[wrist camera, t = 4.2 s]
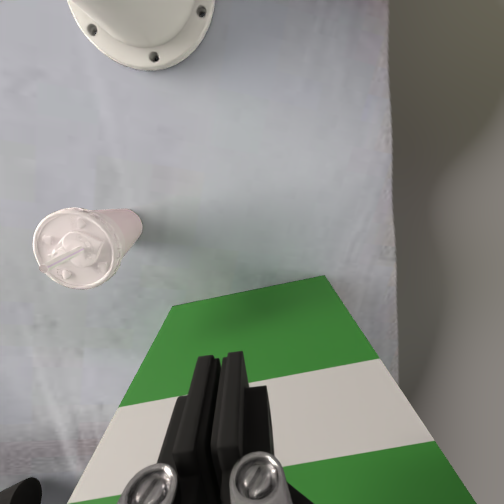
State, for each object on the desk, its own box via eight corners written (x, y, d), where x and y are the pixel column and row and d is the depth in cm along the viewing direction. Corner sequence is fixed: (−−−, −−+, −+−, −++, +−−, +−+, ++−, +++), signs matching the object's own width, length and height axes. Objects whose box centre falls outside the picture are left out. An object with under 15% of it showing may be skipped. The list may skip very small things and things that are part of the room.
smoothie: (164, 244, 33) (106, 300, 19) (110, 262, 33) (17, 329, 20) (139, 186, 31) (56, 205, 18) (83, 207, 31) (-40, 239, 18)
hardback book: (324, 275, 34) (483, 514, 11) (333, 332, 36) (483, 635, 13) (172, 306, 35) (22, 587, 12) (189, 360, 37) (90, 688, 14)
